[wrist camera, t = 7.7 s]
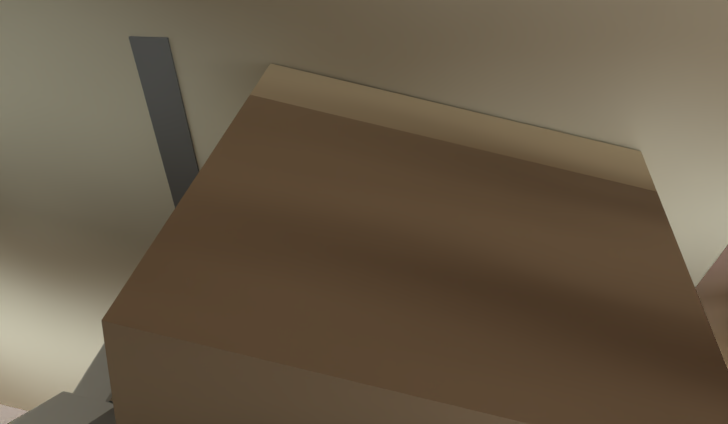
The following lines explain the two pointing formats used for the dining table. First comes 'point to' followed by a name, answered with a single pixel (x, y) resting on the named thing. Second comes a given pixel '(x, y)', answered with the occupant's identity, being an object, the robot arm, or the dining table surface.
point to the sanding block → (410, 276)
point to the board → (322, 57)
